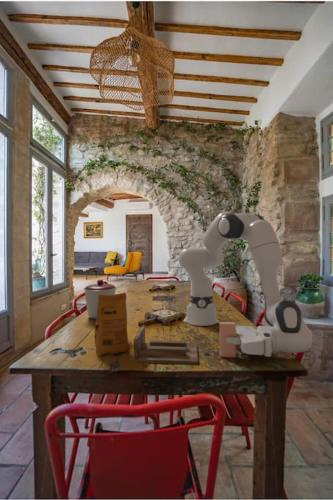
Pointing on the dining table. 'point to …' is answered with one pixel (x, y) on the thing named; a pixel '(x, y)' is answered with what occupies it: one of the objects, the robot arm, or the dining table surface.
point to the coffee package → (111, 324)
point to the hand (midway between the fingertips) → (225, 337)
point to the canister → (96, 296)
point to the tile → (225, 330)
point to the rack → (163, 350)
